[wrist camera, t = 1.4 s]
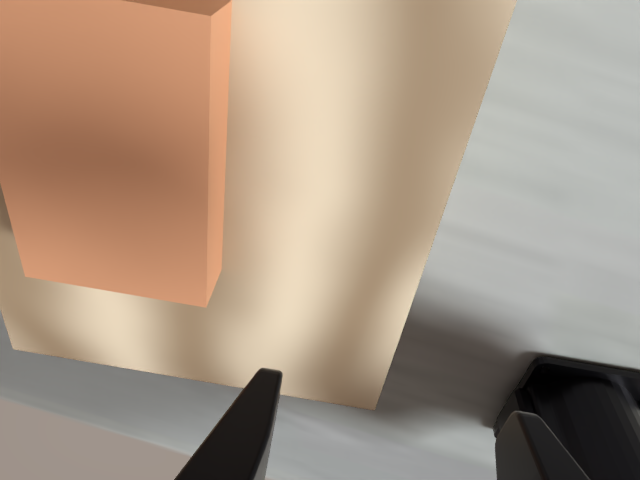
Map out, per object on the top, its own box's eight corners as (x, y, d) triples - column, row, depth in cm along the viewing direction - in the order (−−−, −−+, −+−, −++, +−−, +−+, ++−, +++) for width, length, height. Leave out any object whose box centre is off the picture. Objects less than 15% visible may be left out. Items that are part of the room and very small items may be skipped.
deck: (560, -265, 12) (628, -321, 9) (374, 342, 25) (374, 410, 22) (-83, -383, 12) (-253, -485, 9) (60, 289, 25) (13, 349, 22)
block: (232, 0, 13) (210, 16, 11) (221, 269, 18) (206, 307, 16) (-1, -42, 13) (-57, -32, 11) (57, 241, 18) (25, 276, 16)
